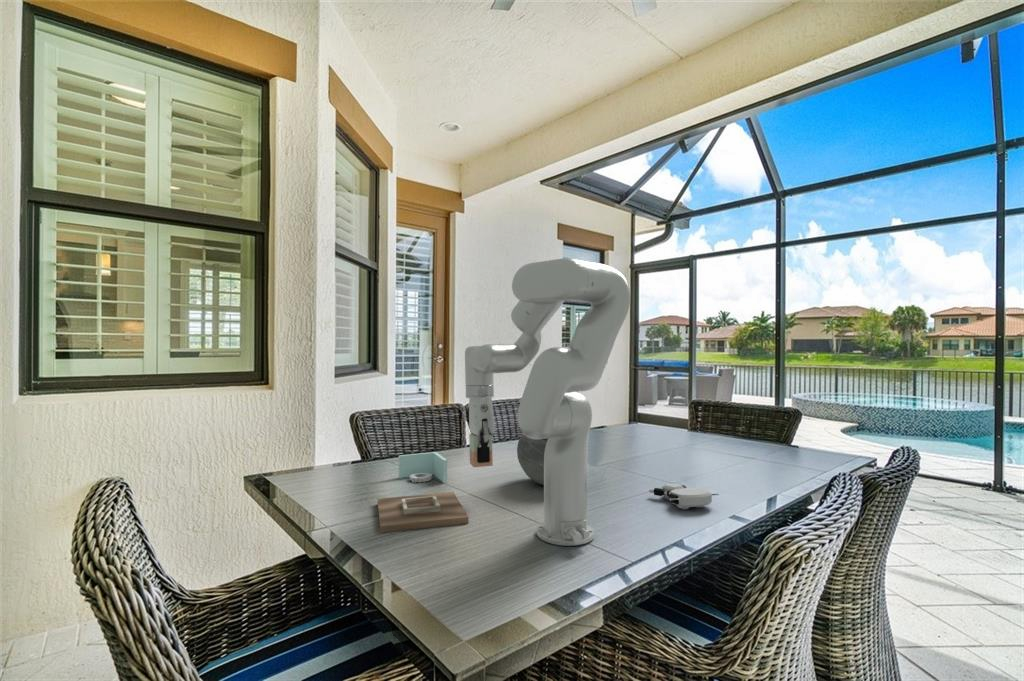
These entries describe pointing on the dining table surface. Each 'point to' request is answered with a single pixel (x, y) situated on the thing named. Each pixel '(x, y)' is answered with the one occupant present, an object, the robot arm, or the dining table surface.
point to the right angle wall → (423, 467)
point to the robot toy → (684, 495)
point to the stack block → (473, 451)
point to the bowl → (532, 457)
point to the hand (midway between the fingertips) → (481, 459)
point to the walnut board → (420, 512)
